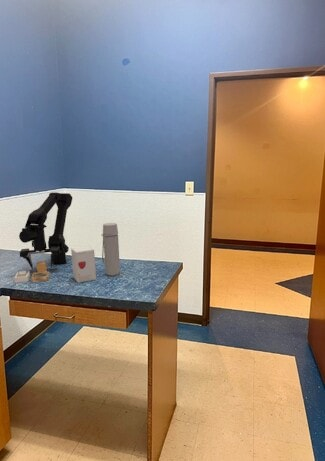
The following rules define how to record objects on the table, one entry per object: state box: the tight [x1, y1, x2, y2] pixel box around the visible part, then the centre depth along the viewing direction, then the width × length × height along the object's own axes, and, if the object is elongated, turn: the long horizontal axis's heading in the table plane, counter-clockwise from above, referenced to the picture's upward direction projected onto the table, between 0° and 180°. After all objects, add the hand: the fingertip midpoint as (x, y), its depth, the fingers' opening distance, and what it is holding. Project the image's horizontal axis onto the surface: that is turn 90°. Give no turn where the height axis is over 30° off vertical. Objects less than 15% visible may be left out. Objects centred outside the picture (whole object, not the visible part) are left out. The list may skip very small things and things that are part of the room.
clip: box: [13, 271, 31, 284], centre depth 160 cm, size 6×8×2 cm
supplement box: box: [70, 245, 97, 284], centre depth 157 cm, size 9×9×15 cm
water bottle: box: [101, 222, 121, 276], centre depth 162 cm, size 9×8×25 cm
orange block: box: [36, 260, 48, 273], centre depth 169 cm, size 4×4×5 cm
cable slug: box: [18, 270, 28, 277], centre depth 160 cm, size 3×5×4 cm, turn 15°
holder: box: [30, 270, 50, 284], centre depth 160 cm, size 8×8×2 cm
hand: (42, 267), depth 169 cm, fingers open, 9 cm apart
